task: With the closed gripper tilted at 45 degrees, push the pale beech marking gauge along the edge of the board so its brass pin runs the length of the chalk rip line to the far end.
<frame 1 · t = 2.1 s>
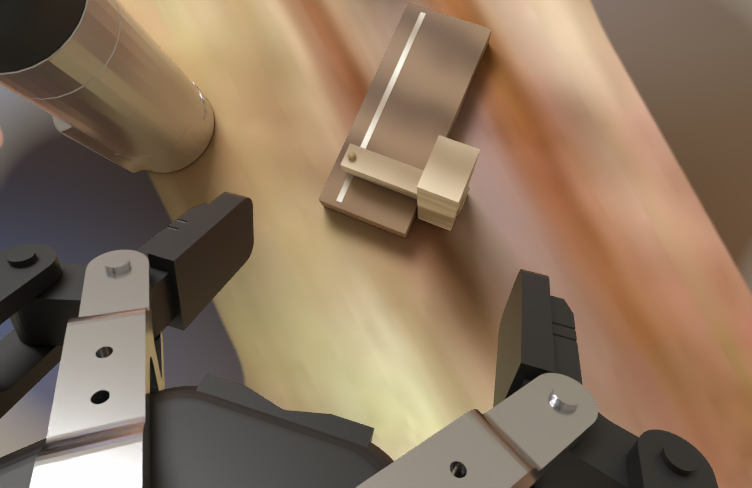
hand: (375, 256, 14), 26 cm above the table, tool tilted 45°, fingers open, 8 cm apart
gauge: (403, 172, 37), point 5 cm above the table, slide at 0.0 cm
board: (407, 123, 42), on the table
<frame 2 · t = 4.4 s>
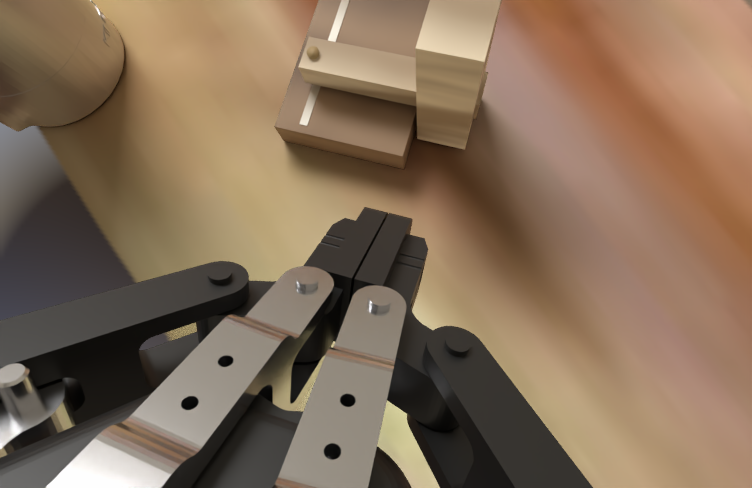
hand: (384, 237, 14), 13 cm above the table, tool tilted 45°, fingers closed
gauge: (390, 61, 25), point 5 cm above the table, slide at 0.0 cm
board: (385, 18, 31), on the table
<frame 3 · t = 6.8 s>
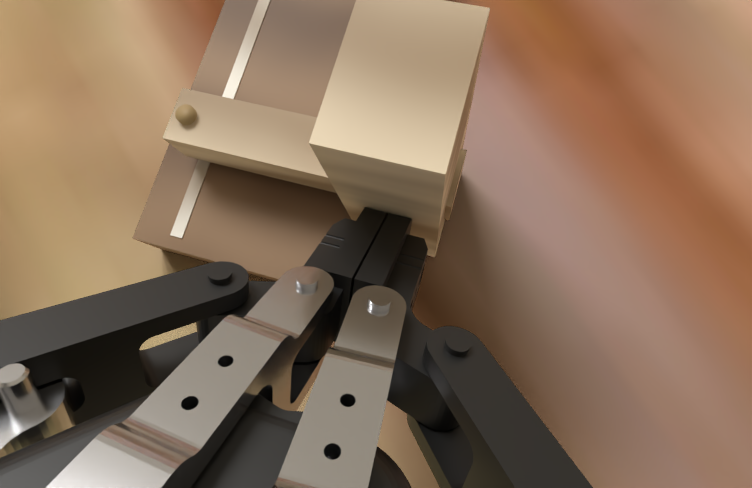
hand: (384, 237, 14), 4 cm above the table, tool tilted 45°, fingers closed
gauge: (302, 133, 15), point 5 cm above the table, slide at 0.6 cm, touching gripper
board: (318, 61, 21), on the table
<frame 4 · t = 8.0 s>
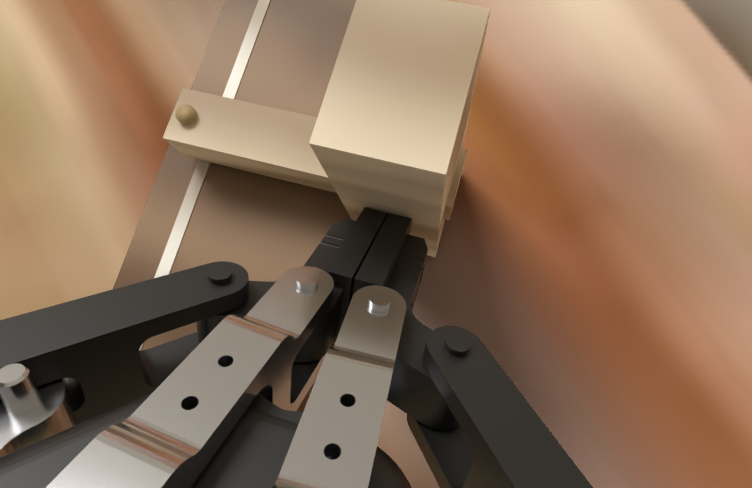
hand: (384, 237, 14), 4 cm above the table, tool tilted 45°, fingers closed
gauge: (303, 133, 15), point 5 cm above the table, slide at 7.5 cm, touching gripper
board: (270, 203, 20), on the table
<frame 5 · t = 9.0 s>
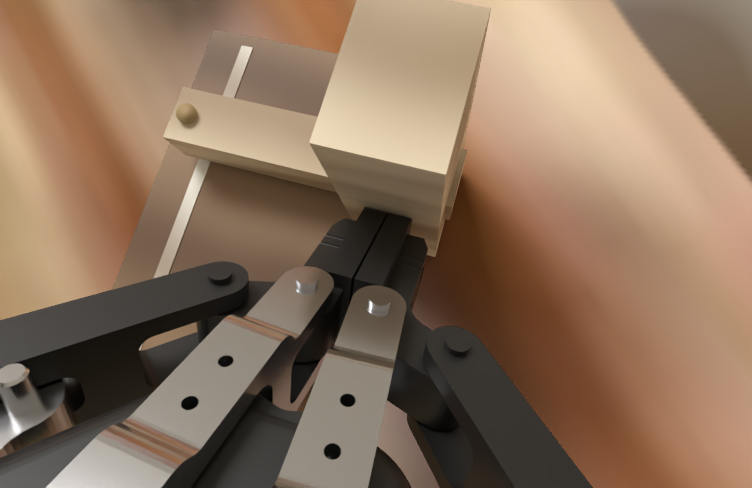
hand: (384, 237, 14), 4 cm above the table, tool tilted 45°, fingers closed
gauge: (303, 132, 15), point 5 cm above the table, slide at 11.3 cm, touching gripper
board: (241, 288, 19), on the table
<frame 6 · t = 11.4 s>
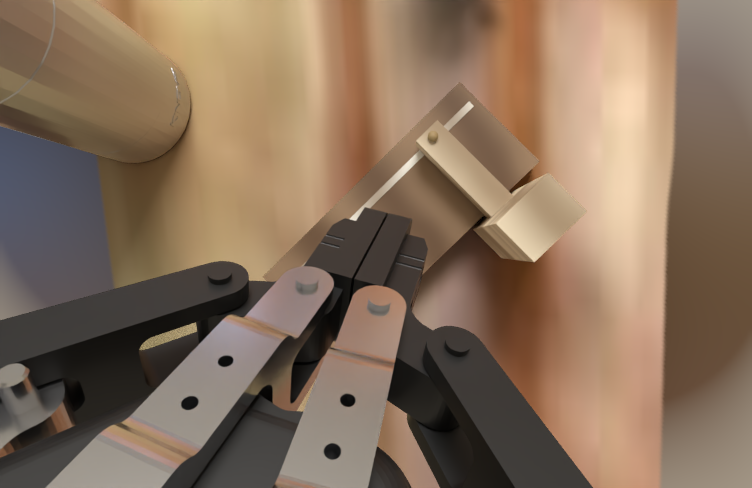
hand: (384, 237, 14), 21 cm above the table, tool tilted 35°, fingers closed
gauge: (483, 183, 30), point 5 cm above the table, slide at 11.5 cm
board: (399, 221, 36), on the table
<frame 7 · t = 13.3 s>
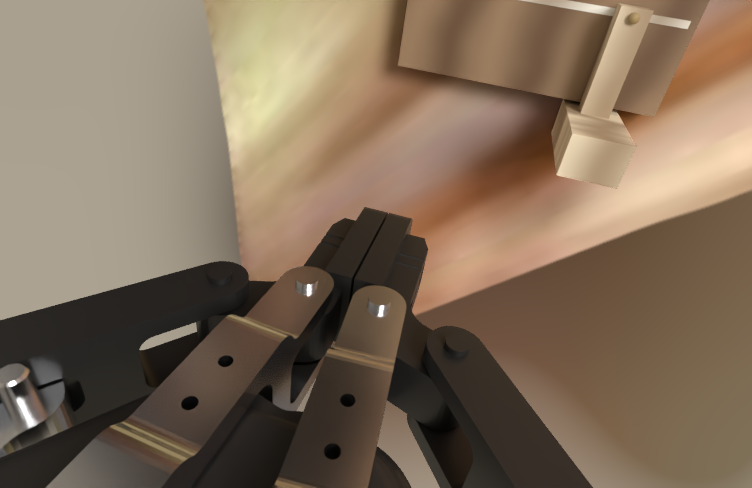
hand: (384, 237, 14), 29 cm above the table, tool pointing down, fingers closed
gauge: (607, 91, 32), point 5 cm above the table, slide at 11.5 cm
board: (536, 31, 36), on the table
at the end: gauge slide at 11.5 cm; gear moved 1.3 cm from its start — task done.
